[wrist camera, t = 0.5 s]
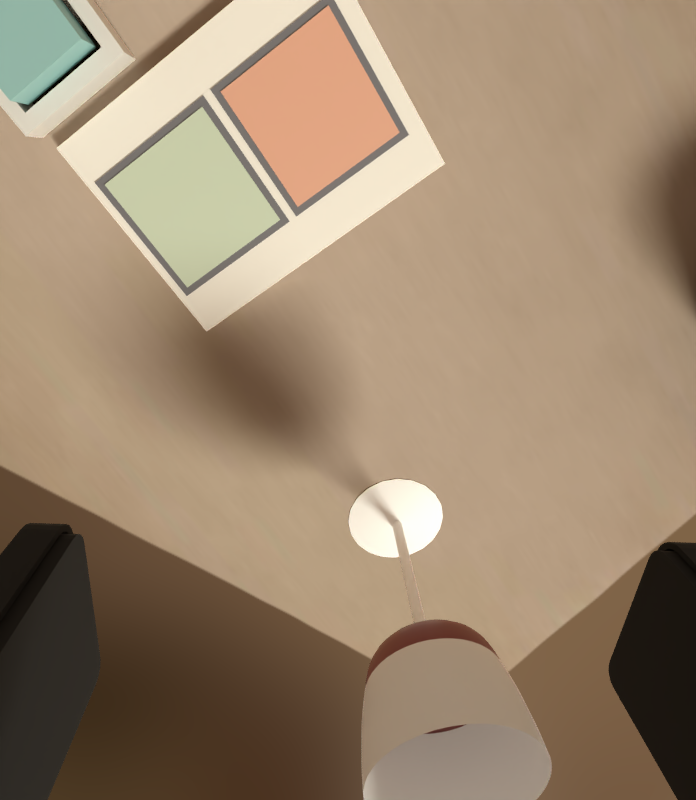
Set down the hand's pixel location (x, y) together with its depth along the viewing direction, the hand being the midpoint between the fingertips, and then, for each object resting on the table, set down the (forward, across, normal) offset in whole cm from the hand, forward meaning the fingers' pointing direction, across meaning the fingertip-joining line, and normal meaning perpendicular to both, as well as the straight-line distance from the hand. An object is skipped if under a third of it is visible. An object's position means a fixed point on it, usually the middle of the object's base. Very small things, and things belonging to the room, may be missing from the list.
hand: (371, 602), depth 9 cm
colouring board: (+28, +5, -7) cm, 29 cm away
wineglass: (+28, -7, +19) cm, 35 cm away
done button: (+27, +16, -12) cm, 33 cm away
